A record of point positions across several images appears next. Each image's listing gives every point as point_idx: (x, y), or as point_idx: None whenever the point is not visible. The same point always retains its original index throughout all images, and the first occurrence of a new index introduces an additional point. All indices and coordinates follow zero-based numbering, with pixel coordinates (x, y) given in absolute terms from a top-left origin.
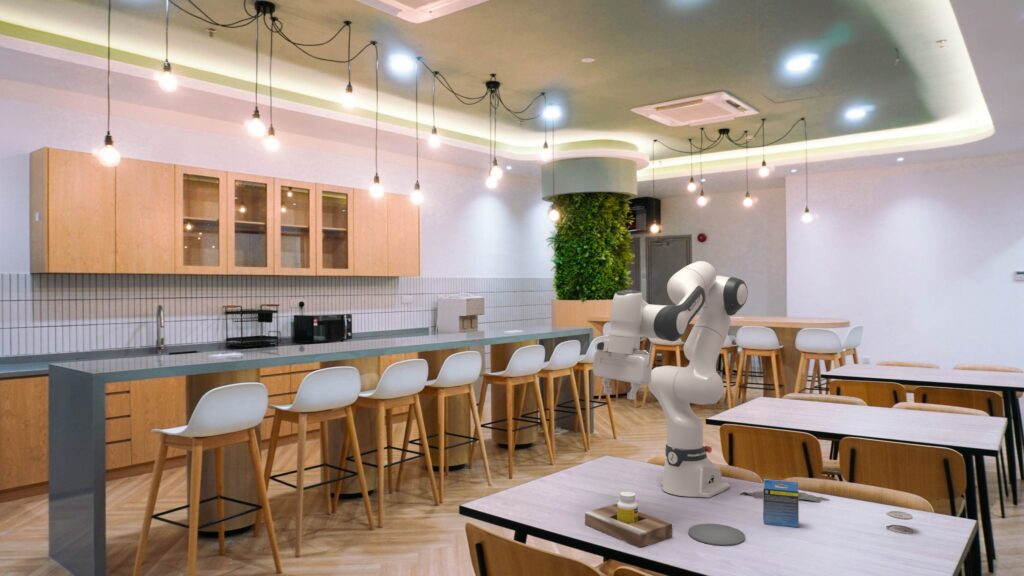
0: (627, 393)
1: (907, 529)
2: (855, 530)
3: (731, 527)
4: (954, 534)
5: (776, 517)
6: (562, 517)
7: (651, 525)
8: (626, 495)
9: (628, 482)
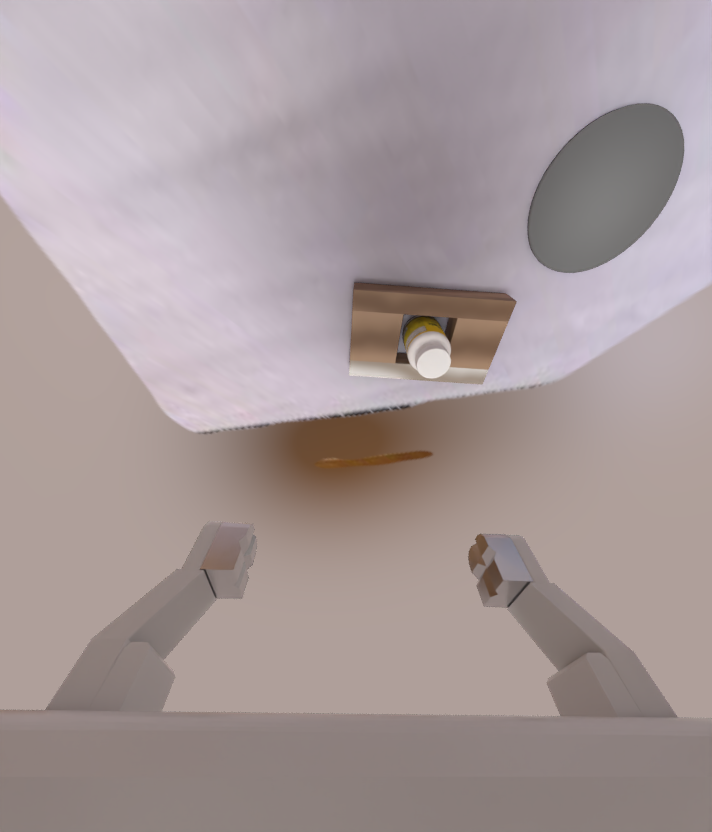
0: (481, 596)
1: None
2: None
3: (643, 110)
4: None
5: None
6: (299, 367)
7: (483, 340)
8: (438, 374)
9: None
